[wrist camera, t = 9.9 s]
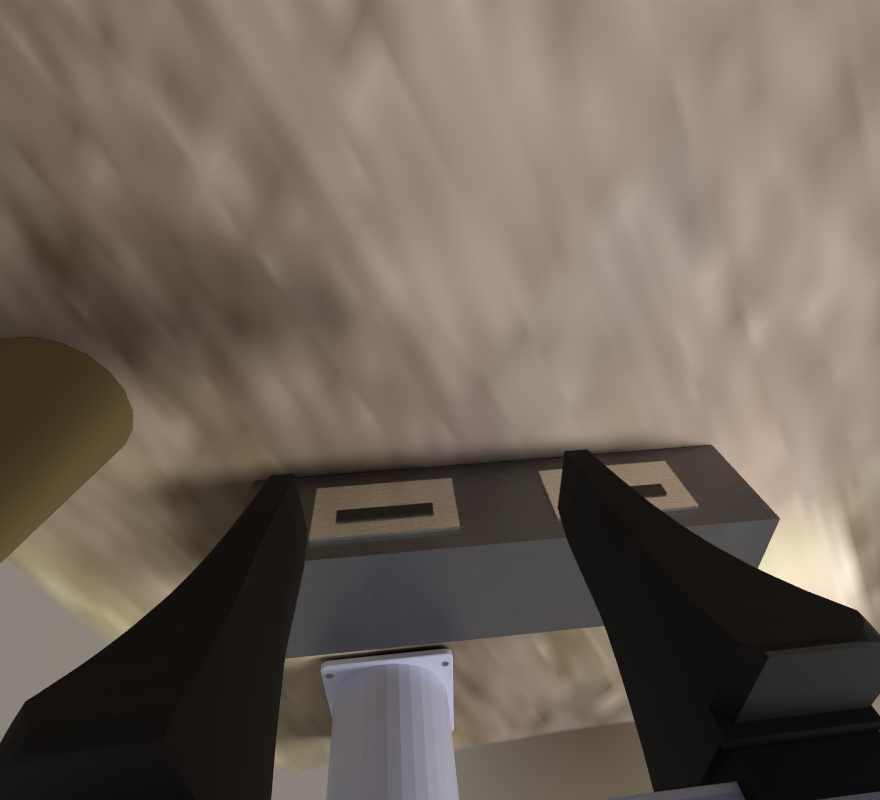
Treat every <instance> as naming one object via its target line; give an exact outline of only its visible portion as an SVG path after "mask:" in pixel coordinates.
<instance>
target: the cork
mask: <svg viewBox="0 0 880 800" xmlns="http://www.w3.org/2000/svg"><path fill="white" fill-rule="evenodd" d="M132 429H133V410H132V408H131V405H130V403H129V400H128V398H127V395H126V393H125V391H124V389H123V388H122V387H121V386H120V384H119V383H118V382H117V381H116V379H115V378H114V377H113V376H112V374H111V373H110V372H109V371H108V370H106V369H105V368H104V367H102V366H101V365H100V364H98V363H97V362H96V361H94V360H93V359H92V358H90V357H89V356H88V355H86V354H84V353H82V352H79V351H77V350H75V349H73V348H70V347H68V346H66V345H64V344H61V343H58V342H53V341H48V340H43V339H38V338H33V337H25V338H7V339H3V340H0V563H1V562H2V561H3V560H4V559H5V558H6V557H8V556H9V555H10V554H11V553H12V552H13V551H14V550H15V549H16V548H17V547H18V546H19V545H20V544H21V543H22V542H23V541H24V540H25V539H26V538H28V537H29V536H30V535H31V534H32V533H33V532H34V531H35V530H36V529H37V528H38V527H39V526H40V525H41V524H42V523H43V522H44V521H45V520H46V519H47V518H49V517H50V516H51V515H52V514H53V513H54V512H55V511H56V510H57V509H58V508H59V507H60V506H61V505H62V504H63V503H64V502H65V501H66V500H67V499H69V498H70V497H71V496H72V495H73V494H74V493H75V492H76V491H77V490H78V489H79V488H80V487H81V486H82V485H83V484H84V483H85V482H86V481H87V480H89V479H90V478H91V477H92V476H93V475H94V474H95V473H96V472H97V471H98V470H99V469H100V468H101V467H102V466H103V465H104V464H105V463H106V462H107V461H108V460H110V459H111V458H112V457H113V456H114V455H115V454H116V453H117V452H118V451H119V450H120V449H121V448H122V447H123V446H124V445H125V444H126V442H127V440H128V438H129V435H130V433H131V431H132Z"/></svg>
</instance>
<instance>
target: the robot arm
mask: <svg viewBox="0 0 880 800" xmlns="http://www.w3.org/2000/svg"><path fill="white" fill-rule="evenodd" d="M558 511H559V515H560V518H561V522H562V525H563V529H564V532H565V535H566V538H567V541H568V544H569V546H570V548H571V551H572V553H573V555H574V557H575V560H576V562H577V564H578V567H579V569H580V571H581V573H582V576H583V578H584V580H585V582H586V584H587V587H588V589H589V591H590V593H591V596H592V598H593V600H594V602H595V605H596V607H597V609H598V611H599V613H600V616H601V618H602V621H603V623H604V626H605V629H606V631H607V634H608V637H609V640H610V643H611V646H612V649H613V652H614V655H615V658H616V661H617V664H618V668H619V671H620V674H621V677H622V680H623V684H624V687H625V690H626V693H627V697H628V700H629V703H630V706H631V710H632V713H633V717H634V720H635V724H636V727H637V731H638V734H639V738H640V741H641V745H642V748H643V752H644V756H645V760H646V763H647V767H648V771H649V775H650V779H651V783H652V787H653V790H654V792H653V793H645V794H637V795H629V796H622V797H614V798H606V799H599V800H880V731H879V730H880V716H879V714H878V713H877V712H876V711H875V709H874V708H873V707H872V706H871V705H872V703H873V702H874V701H875V699H876V698H877V697H878V696H879V694H880V634H879V633H878V632H877V631H876V630H875V629H874V628H873V627H872V625H871V624H870V623H869V622H868V621H867V620H866V619H865V618H864V617H863V616H862V615H861V614H860V613H859V612H858V611H857V610H855V609H852V608H849V607H847V606H844V605H842V604H839V603H836V602H834V601H831V600H829V599H826V598H823V597H821V596H818V595H816V594H813V593H811V592H808V591H806V590H803V589H801V588H798V587H796V586H794V585H792V584H790V583H787V582H785V581H783V580H781V579H778V578H776V577H774V576H772V575H770V574H768V573H766V572H763V571H761V570H759V569H757V568H755V567H753V566H751V565H749V564H747V563H746V562H744V561H742V560H740V559H738V558H736V557H734V556H732V555H730V554H729V553H727V552H725V551H723V550H721V549H720V548H718V547H716V546H714V545H713V544H711V543H709V542H708V541H706V540H705V539H703V538H701V537H700V536H698V535H697V534H695V533H693V532H692V531H690V530H688V529H687V528H685V527H684V526H682V525H681V524H679V523H678V522H676V521H675V520H674V519H672V518H671V517H670V516H668V515H667V514H665V513H664V512H663V511H661V510H660V509H658V508H657V507H656V506H654V505H653V504H652V503H650V502H649V501H648V500H647V499H645V498H644V497H643V496H641V495H640V494H639V493H638V492H636V491H635V490H634V489H633V488H631V487H630V486H629V485H628V484H627V483H625V482H624V481H623V480H622V479H621V478H619V477H618V476H617V475H616V474H615V473H614V472H612V471H611V470H610V469H609V468H608V467H607V466H605V465H604V464H603V463H602V462H601V461H600V460H599V459H597V458H596V457H595V456H594V455H593V454H591V453H590V452H589V451H588V450H575V451H565V452H564V460H563V468H562V476H561V484H560V492H559V500H558ZM306 542H307V526H306V522H305V518H304V513H303V509H302V504H301V500H300V496H299V491H298V487H297V483H296V478H295V474H284V475H272V476H270V477H269V478H268V479H267V480H266V482H265V483H264V485H263V486H262V487H261V489H260V490H259V491H258V493H257V494H256V496H255V497H254V498H253V500H252V501H251V502H250V504H249V505H248V506H247V508H246V509H245V510H244V512H243V513H242V514H241V516H240V517H239V518H238V519H237V521H236V522H235V523H234V524H233V526H232V527H231V528H230V530H229V531H228V532H227V533H226V535H225V536H224V537H223V538H222V539H221V541H220V542H219V543H218V544H217V545H216V546H215V547H214V549H213V550H212V551H211V552H210V553H209V554H208V555H207V557H206V558H205V559H204V560H203V561H202V562H201V563H200V564H199V565H198V567H197V568H196V569H195V570H194V571H193V572H192V573H191V574H190V575H189V576H188V577H187V578H186V579H185V580H184V581H183V582H182V583H181V584H180V585H179V586H178V587H177V588H176V589H175V590H174V591H173V592H172V593H171V594H170V595H169V596H167V597H166V598H165V599H164V600H163V601H162V602H161V603H159V604H158V605H157V606H156V607H155V608H154V609H152V610H151V611H150V612H149V613H148V614H147V615H145V616H144V617H143V618H142V619H141V620H140V621H138V622H137V623H136V624H135V625H134V626H133V627H131V628H130V629H129V630H128V631H126V632H125V633H124V634H122V635H121V636H120V637H119V638H117V639H116V640H115V641H113V642H112V643H111V644H109V645H108V646H107V647H105V648H104V649H103V650H101V651H100V652H99V653H97V654H96V655H95V656H93V657H92V658H90V659H89V660H88V661H86V662H85V663H84V664H82V665H80V666H79V667H78V668H76V669H75V670H73V671H72V672H70V673H68V674H67V675H65V676H64V677H62V678H61V679H59V680H58V681H56V682H55V683H53V684H52V685H50V686H49V687H47V688H46V689H44V690H43V691H41V692H40V693H38V694H37V695H35V696H34V697H32V698H30V699H29V700H27V701H26V702H25V703H24V705H23V706H22V708H21V709H20V711H19V712H18V714H17V716H16V717H15V719H14V720H13V722H12V723H11V725H10V727H9V729H8V730H7V732H6V734H5V736H4V737H3V739H2V741H1V743H0V800H271V794H272V780H273V769H274V757H275V745H276V735H277V725H278V715H279V705H280V696H281V687H282V678H283V669H284V662H285V656H286V650H287V645H288V640H289V636H290V631H291V626H292V622H293V617H294V613H295V608H296V603H297V599H298V594H299V589H300V585H301V580H302V575H303V570H304V564H305V554H306ZM320 672H321V676H322V680H323V684H324V688H325V692H326V696H327V700H328V704H329V708H330V712H331V716H332V732H331V744H330V757H329V770H328V783H327V796H326V800H459V797H458V787H457V778H456V769H455V760H454V750H453V741H452V731H453V730H454V716H453V656H452V651H451V650H449V649H436V650H427V651H417V652H407V653H398V654H388V655H378V656H369V657H359V658H349V659H339V660H330V661H325V662H323V663H322V664H321V670H320Z"/></svg>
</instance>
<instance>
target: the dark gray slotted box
mask: <svg viewBox="0 0 880 800" xmlns="http://www.w3.org/2000/svg"><path fill="white" fill-rule="evenodd" d="M594 456H595V457H596V458H597V459H599V460H600V461H601V462H602V463H603V464H604V465H605V466H607V467H608V468H609V469H610V470H611V471H612V472H614V473H615V474H616V475H617V476H618V477H619V478H621V479H622V480H623V481H624V482H625V483H627V484H628V485H629V486H630V487H631V488H633V489H634V490H635V491H636V492H638V493H639V494H640V495H641V496H643V497H644V498H645V499H647V500H648V501H649V502H650V503H652V504H653V505H654V506H656V507H657V508H658V509H660V510H661V511H663V512H664V513H665V514H667V515H668V516H670V517H671V518H672V519H674V520H675V521H676V522H678V523H679V524H681V525H682V526H684V527H685V528H687V529H688V530H690V531H692V532H693V533H695V534H697V535H698V536H700V537H701V538H703V539H705V540H706V541H708V542H709V543H711V544H713V545H714V546H716V547H718V548H720V549H721V550H723V551H725V552H727V553H729V554H730V555H732V556H734V557H736V558H738V559H740V560H742V561H744V562H746V563H747V564H749V565H751V566H753V567H755V568H757V569H758V566H759V564H760V562H761V560H762V558H763V555H764V553H765V551H766V549H767V546H768V544H769V542H770V540H771V537H772V535H773V533H774V531H775V529H776V526H777V524H778V522H779V520H780V518H779V517H778V516H777V515H776V514H775V513H774V512H773V510H772V509H771V508H770V507H769V506H768V505H767V504H766V503H765V502H764V501H763V500H762V499H761V497H760V496H759V495H758V494H757V493H756V492H755V491H754V490H753V489H752V488H751V487H750V486H749V484H748V483H747V482H746V481H745V480H744V479H743V478H742V477H741V476H740V475H739V474H738V473H737V471H736V470H735V469H734V468H733V467H732V466H731V465H730V464H729V463H728V462H727V461H726V460H725V458H724V457H723V456H722V455H721V454H720V453H719V452H718V451H717V450H716V449H715V448H714V447H713V445H712V446H699V447H686V448H673V449H661V450H648V451H635V452H622V453H609V454H596V455H594ZM563 460H564V457H558V458H545V459H532V460H519V461H507V462H494V463H481V464H468V465H455V466H442V467H430V468H417V469H404V470H391V471H378V472H365V473H353V474H340V475H327V476H314V477H301V478H296V483H297V487H298V491H299V496H300V500H301V504H302V509H303V513H304V518H305V522H306V526H307V542H306V554H305V564H304V570H303V575H302V580H301V585H300V589H299V594H298V599H297V603H296V608H295V613H294V617H293V622H292V626H291V631H290V636H289V640H288V645H287V650H286V656H285V658H295V657H305V656H315V655H324V654H334V653H344V652H354V651H363V650H373V649H383V648H393V647H402V646H412V645H422V644H432V643H441V642H451V641H461V640H471V639H480V638H490V637H500V636H510V635H519V634H529V633H539V632H549V631H558V630H568V629H578V628H588V627H598V626H604V623H603V621H602V618H601V616H600V613H599V611H598V609H597V607H596V605H595V602H594V600H593V598H592V596H591V593H590V591H589V589H588V587H587V584H586V582H585V580H584V578H583V576H582V573H581V571H580V569H579V567H578V564H577V562H576V560H575V557H574V555H573V553H572V551H571V548H570V546H569V544H568V541H567V538H566V535H565V532H564V529H563V525H562V522H561V518H560V515H559V511H558V500H559V492H560V484H561V476H562V468H563ZM265 482H266V480H263V481H254V483H253V486H252V489H251V492H250V496H249V499H248V502H247V505H246V508H247V506H248V505H249V504H250V502H251V501H252V500H253V498H254V497H255V496H256V494H257V493H258V491H259V490H260V489H261V487H262V486H263V485H264V483H265ZM246 508H245V509H246Z"/></svg>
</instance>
